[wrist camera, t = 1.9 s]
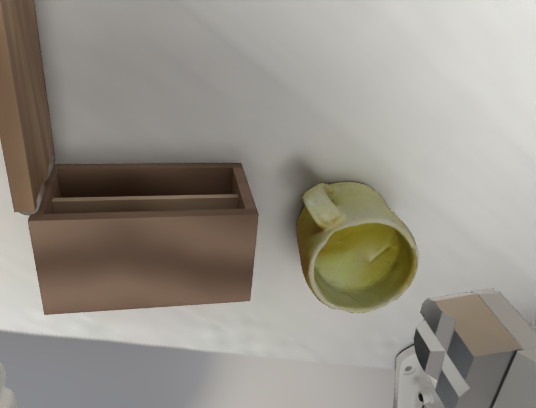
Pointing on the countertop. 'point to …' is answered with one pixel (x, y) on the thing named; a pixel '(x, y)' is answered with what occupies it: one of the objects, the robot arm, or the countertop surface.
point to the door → (23, 107)
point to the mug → (354, 247)
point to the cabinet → (143, 236)
